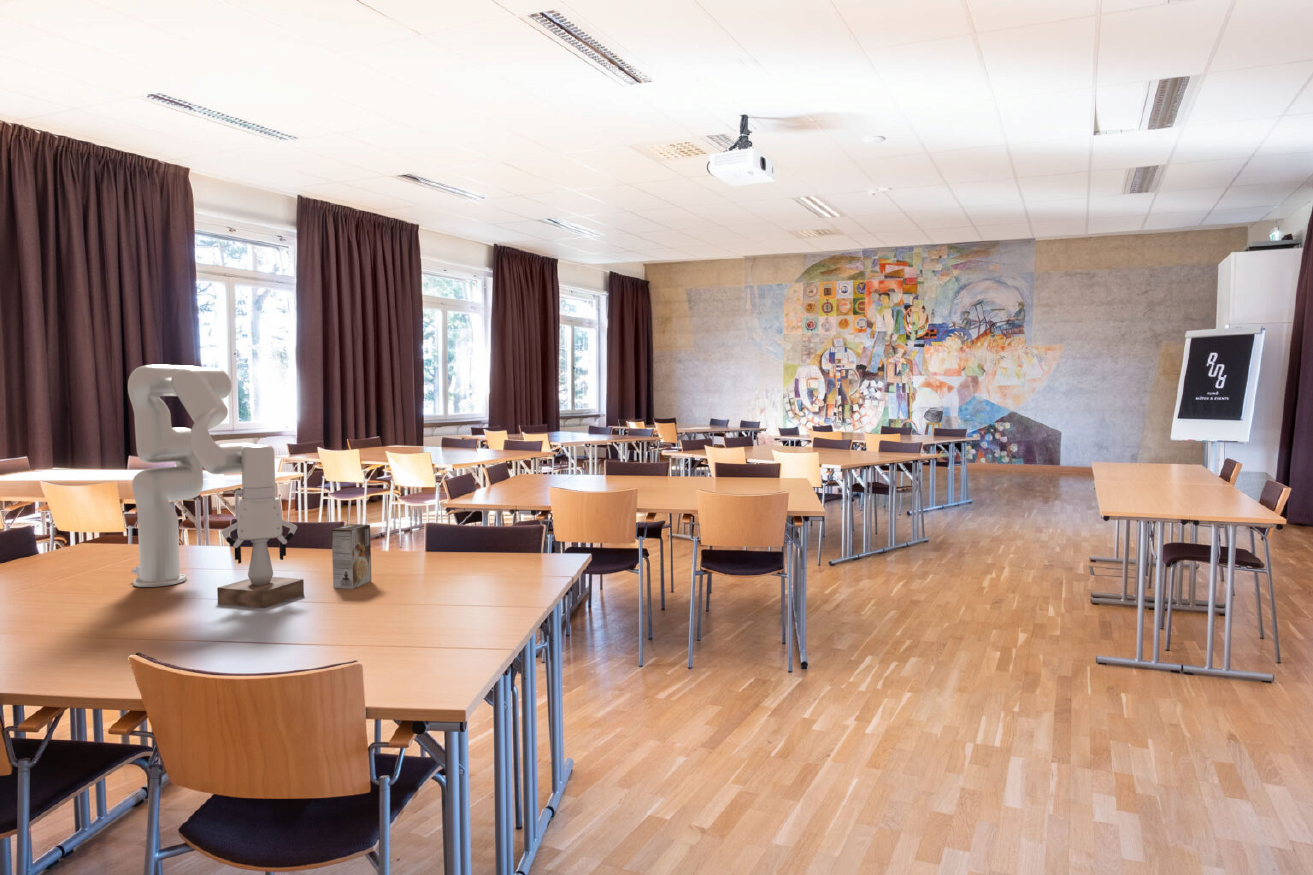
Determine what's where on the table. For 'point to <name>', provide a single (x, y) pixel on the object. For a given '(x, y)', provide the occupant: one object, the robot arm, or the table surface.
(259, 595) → the walnut base
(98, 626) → the table surface
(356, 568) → the coffee box
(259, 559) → the salt shaker
